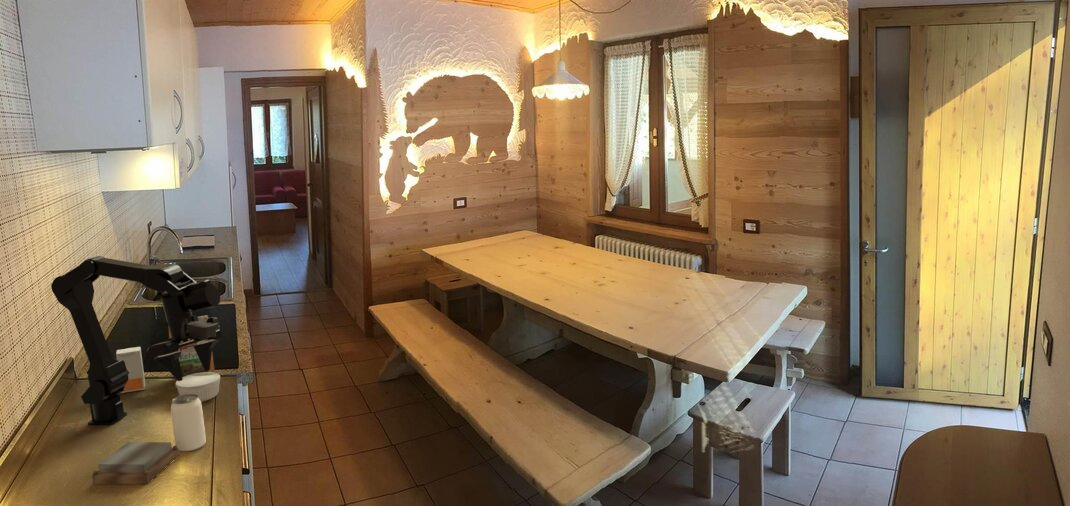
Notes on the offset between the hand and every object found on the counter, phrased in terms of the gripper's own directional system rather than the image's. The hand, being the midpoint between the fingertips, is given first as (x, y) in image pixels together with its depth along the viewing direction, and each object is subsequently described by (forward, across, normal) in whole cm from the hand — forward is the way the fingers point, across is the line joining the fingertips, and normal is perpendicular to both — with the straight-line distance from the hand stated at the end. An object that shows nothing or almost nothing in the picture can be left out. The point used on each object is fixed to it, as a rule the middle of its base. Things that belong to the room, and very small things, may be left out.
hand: (194, 375), depth 167 cm
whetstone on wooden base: (+16, -20, +2) cm, 26 cm away
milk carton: (+5, +28, +27) cm, 39 cm away
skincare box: (+3, +17, +39) cm, 43 cm away
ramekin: (+9, +17, +16) cm, 25 cm away
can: (+16, -8, -2) cm, 18 cm away
